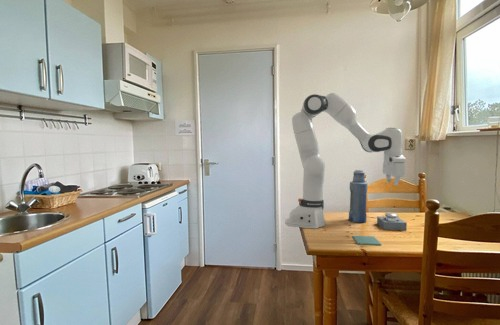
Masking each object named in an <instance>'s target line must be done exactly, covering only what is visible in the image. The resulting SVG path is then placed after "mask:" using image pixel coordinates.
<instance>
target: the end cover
mask: <svg viewBox="0 0 500 325" xmlns="http://www.w3.org/2000/svg"><path fill="white" fill-rule="evenodd" d="M384 217H386V220H387V221H397V217H398V218H399V214H397V213H395V212H385V213H384Z"/></svg>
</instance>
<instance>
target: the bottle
mask: <svg viewBox="0 0 500 325" xmlns="http://www.w3.org/2000/svg"><path fill="white" fill-rule="evenodd" d="M349 192H350V196H349V200H350V201H349V211H348V221H350V222H352V223H359V224H362V223H366V222H367V193H368V182H366V179H365V171H364V170H363V169H356V170H354V171H353V177H352V181H349Z"/></svg>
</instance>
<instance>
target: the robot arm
mask: <svg viewBox="0 0 500 325" xmlns="http://www.w3.org/2000/svg"><path fill="white" fill-rule="evenodd" d="M322 112H323V113H327V114H328V115H329V116H330V117H331V118H332V119H333V120H334V121H336V122H337V123H338V124H340V125H341V126H342V127H344V128H345V129H347V130H348V131H349V132H350V133H351V134H352V135H353V136H354V137H355V138H356V139H357V140H358V141H359V144H360V147H361V148H362V149H363V151H364V152H366V153H381V152H383V162H382V173H383V174H384V175H385V178H386V182H387V183H388V184H389V183H392V179H391V178H392V177H394V181H393V185H394V186H398V185H399V182H400V179H401V178H404V176H405V171H406V164H405V163H407V158H406V157H405V156H404V155H403V149H402V148H403V139H404V138H403V132H402V130H401V129H399V128H397V127H386V128H385V129H383V130H382V131H379V132H377V133H375V134H371V133H369V132H368V131H367V130H366V129H365V127H362V125H361V124H360V123H359V122H358V119H357V111H356V109H354V107H353V106H352V105H351V104H350V103H349V102H348V101H346V99H344V98H343V97H341V96H340V95H339V94H337V93H335V92H331V93H330V92H329V93H328V94H326V96H325V95H321V94H315V93H314V94H310V95H308V96H307V97H306V98H305V99H304V101H303V103H302V107H301V110H300V111H299V112H297V113H296V112H295V114H294V115H292V117H291V118H292V119H291V124H292V130H293V134H294V137H295V141H296V145H297V149H298V153H299V157H300V161H301V165H302V168H303V178H302V179H303V181H302V198H301V197H300V198H298V199H297V202H298V204H299V205H297V206H296V207H294V208H293V209H292V210H291V211H290V212H289V217H288V218H286V219H285V222H284V224H285V226H287V227H293V228H294V227H295V228H300V229H301V228H303V229H304V228H305V229H313V230H314V229H319V228H321V227H325V226H326V221H325V215H324V208H325V207H324V206H325V202H324V180H325V179H324V177H325V168H326V167H325V166H326V165H325V162H324V160H323V158H321V155H320V150H319V145H318V139H317V136H316V132H315V129H314V125H313V119H314V118H315V117H316V116H319V115H321V113H322Z"/></svg>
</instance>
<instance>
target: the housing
mask: <svg viewBox="0 0 500 325" xmlns="http://www.w3.org/2000/svg"><path fill="white" fill-rule="evenodd" d="M376 218H377V219H376V224H377V225H378V226H379V227H380V228H382V229H383V230H387V231H389V230H391V231H392V230H393V231H407V225H408V224H407V222H406V221H405V220H403V219H402V218H400V217H399V216H398V217H397V221H387V220H386V216H377V217H376Z"/></svg>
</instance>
